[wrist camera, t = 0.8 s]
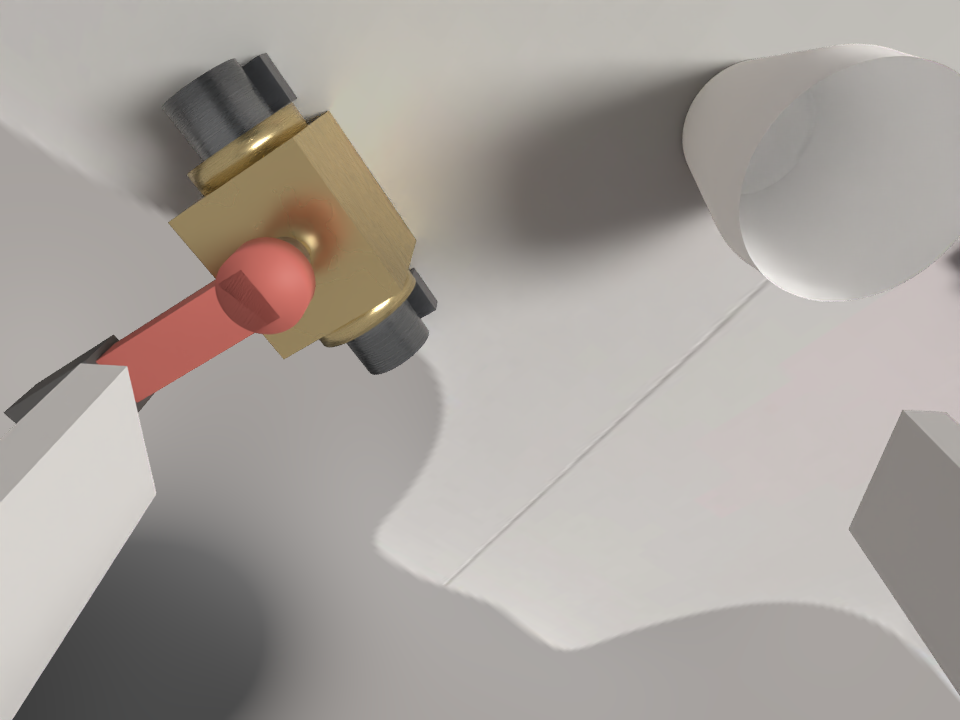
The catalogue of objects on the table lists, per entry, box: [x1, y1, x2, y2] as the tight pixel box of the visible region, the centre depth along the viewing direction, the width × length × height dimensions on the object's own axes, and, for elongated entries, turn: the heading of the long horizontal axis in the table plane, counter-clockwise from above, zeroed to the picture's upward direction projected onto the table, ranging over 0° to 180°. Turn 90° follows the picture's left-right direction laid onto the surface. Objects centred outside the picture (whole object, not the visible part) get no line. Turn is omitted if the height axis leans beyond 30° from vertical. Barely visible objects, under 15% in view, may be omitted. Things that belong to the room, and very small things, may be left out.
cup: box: [682, 44, 960, 302], centre depth 29 cm, size 9×9×12 cm
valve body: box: [162, 53, 437, 375], centre depth 32 cm, size 16×7×10 cm, turn 31°
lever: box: [4, 237, 316, 424], centre depth 29 cm, size 15×4×2 cm, turn 121°
